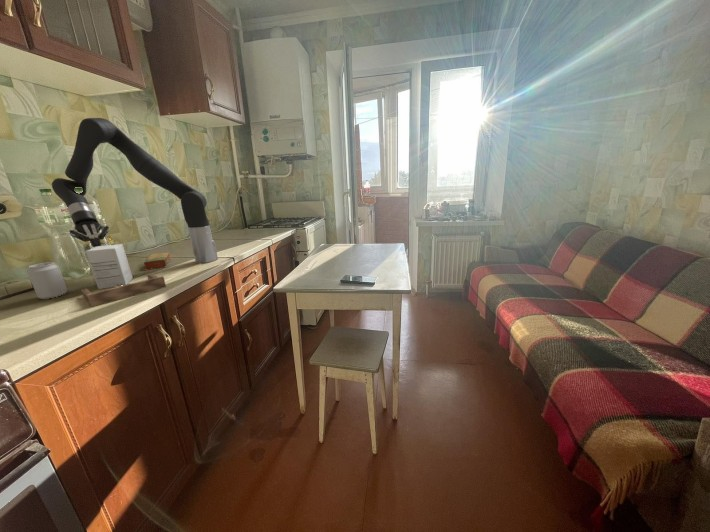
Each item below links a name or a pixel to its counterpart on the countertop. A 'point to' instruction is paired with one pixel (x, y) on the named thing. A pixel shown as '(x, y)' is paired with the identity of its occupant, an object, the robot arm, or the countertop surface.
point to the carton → (157, 260)
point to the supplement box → (109, 266)
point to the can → (47, 280)
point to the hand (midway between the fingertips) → (97, 246)
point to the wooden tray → (124, 290)
